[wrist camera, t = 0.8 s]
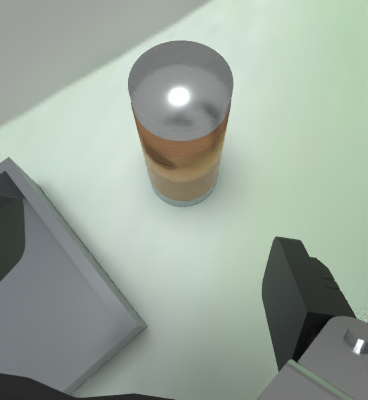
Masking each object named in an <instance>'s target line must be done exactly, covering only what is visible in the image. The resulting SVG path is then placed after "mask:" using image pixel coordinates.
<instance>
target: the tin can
mask: <svg viewBox="0 0 368 400" xmlns="http://www.w3.org/2000/svg"><path fill="white" fill-rule="evenodd" d="M128 90H129V94H130V98H131V105H132V110H133V114H134V118H135V122H136V126H137V130H138V134H139V138H140V142H141V146H142V150H143V154H144V158H145V162H146V166H147V170H148V174H149V178H150V180H151V183H152V186H153V189H154V191H155V192H156V194H157V195H158V196H159V197H160V198H161V199H162V200H164V201H165V202H167V203H169V204H171V205H175V206H184V207H185V206H192V205H195V204H198V203H200V202H201V201H203V200H204V199H206V198H207V197H208V196H209V194H210V193H211V192H212V190H213V188H214V186H215V182H216V178H217V175H218V169H219V164H220V159H221V154H222V148H223V143H224V138H225V133H226V127H227V122H228V117H229V112H230V106H231V97H232V91H233V76H232V72H231V70H230V67H229V65H228V64H227V62H226V61H225V60H224V58H223V57H222V56H221V55H220V54H219V53H217V52H216V51H215V50H213V49H211V48H210V47H208V46H205V45H203V44H200V43H197V42H192V41H171V42H166V43H162V44H159V45H157V46H155V47H153V48H151V49H149V50H148V51H146V52H145V53H144V54H142V55H141V56H140V57H139V58H138V60H137V61H136V62H135V64H134V65H133V67H132V69H131V71H130V74H129V78H128Z"/></svg>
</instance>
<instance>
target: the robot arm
mask: <svg viewBox="0 0 368 400" xmlns="http://www.w3.org/2000/svg"><path fill="white" fill-rule="evenodd" d="M24 250H25V220H24V204H23V201H22V200H21V199H20V198H16V197H10V196H3V195H0V282H1V280H2V279H3V278H4V277H5V276H6V275H7V274H8V273H9V272H10V271H11V270H12V269H13V268H14V267H15V265H16V264H17V263H18V262H19V261H20V260H21V258H22V256H23V253H24ZM262 300H263V304H264V308H265V313H266V317H267V322H268V326H269V330H270V335H271V339H272V344H273V348H274V353H275V357H276V361H277V366H278V370H279V373H278V374H277V375H276V377H275V378H274V379H273V380H272V382H271V383H270V384H269V385H268V387H267V388H266V389H265V390H264V392H263V393H262V394H261V395H260V397H259V398H258V399H257V400H368V323H366V322H364V321H362V320H359V319H357V318H356V316H355V314H354V312H353V311H352V309H351V307H350V306H349V304H348V302H347V300H346V299H345V297H344V295H343V293H342V292H341V291H340V288H339V286H338V285H337V283H336V282H335V281H334V278H333V276H332V274H331V272H330V271H329V269H328V268H327V267H326V266H325V265H324V264H323V263H321V262H320V261H319V260H318V259H317V258H313V257H309V255H308V253H307V251H306V249H305V247H304V245H303V243H302V241H301V240H297V239H290V238H283V237H275V238H274V240H273V243H272V247H271V251H270V254H269V258H268V262H267V266H266V270H265V274H264V278H263V283H262ZM0 400H173V399H167V398H160V397H154V396H147V395H141V394H123V395H111V396H99V397H87V398H76V397H73V396H70V395H68V394H65V393H63V392H61V391H59V390H56V389H54V388H52V387H49V386H47V385H45V384H43V383H40V382H38V381H36V380H33V379H31V378H29V377H23V376H16V375H10V374H3V373H0Z"/></svg>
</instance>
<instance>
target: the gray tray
mask: <svg viewBox="0 0 368 400" xmlns="http://www.w3.org/2000/svg"><path fill="white" fill-rule="evenodd" d="M0 195H3V196H10V197H16V198H20V199H21V200H22V201H23V204H24V220H25V250H24V253H23V256H22V258H21V260H20V261H19V262H18V263H17V264H16V265H15V267H14V268H13V269H12V270H11V271H10V272H9V273H8V274H7V275H6V276H5V277H4V278H3V279H2V280H1V282H0V373H3V374H10V375H16V376H23V377H29V378H31V379H33V380H36V381H38V382H40V383H43V384H45V385H47V386H49V387H52V388H54V389H56V390H59V391H61V392H63V393H65V394H68V395H71V394H72V393H73V392H74V391H75V390H76V389H77V388H78V387H80V386H81V385H82V384H83V383H84V382H85V381H86V380H87V379H89V378H90V377H91V376H92V375H93V374H94V373H95V372H96V371H98V370H99V369H100V368H101V367H102V366H103V365H104V364H105V363H107V362H108V361H109V360H110V359H111V358H112V357H113V356H114V355H116V354H117V353H118V352H119V351H120V350H121V349H122V348H123V347H125V346H126V345H127V344H128V343H129V342H130V341H131V340H132V339H134V338H135V337H136V336H137V335H138V334H139V333H140V332H141V331H143V330H144V329H145V328H146V327H147V325H146V324H145V323H144V321H143V320H142V319H141V317H140V316H139V315H138V314H137V312H136V311H135V310H134V308H133V307H132V306H131V304H130V303H129V302H128V301H127V299H126V298H125V297H124V295H123V294H122V293H121V292H120V290H119V289H118V288H117V286H116V285H115V284H114V283H113V281H112V280H111V279H110V277H109V276H108V275H107V274H106V272H105V271H104V270H103V268H102V267H101V266H100V264H99V263H98V262H97V261H96V259H95V258H94V257H93V255H92V254H91V253H90V252H89V250H88V249H87V248H86V246H85V245H84V244H83V243H82V241H81V240H80V239H79V237H78V236H77V235H76V234H75V232H74V231H73V230H72V228H71V227H70V226H69V225H68V223H67V222H66V221H65V219H64V218H63V217H62V215H61V214H60V213H59V212H58V210H57V209H56V208H55V206H54V205H53V204H52V203H51V201H50V200H49V199H48V197H47V196H46V195H45V194H44V192H43V191H42V190H41V188H40V187H39V186H38V185H37V184H36V183H35V182H34V181H33V180H32V179H31V178H30V177H29V176H28V175H27V174H26V173H25V172H24V171H23V170H22V169H21V168H20V167H19V166H18V165H17V164H16V163H15V162H14V161H13V160H11V159H10V158H9V157H8V158H7V159H5V160H4V161H2V162H1V163H0Z"/></svg>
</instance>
